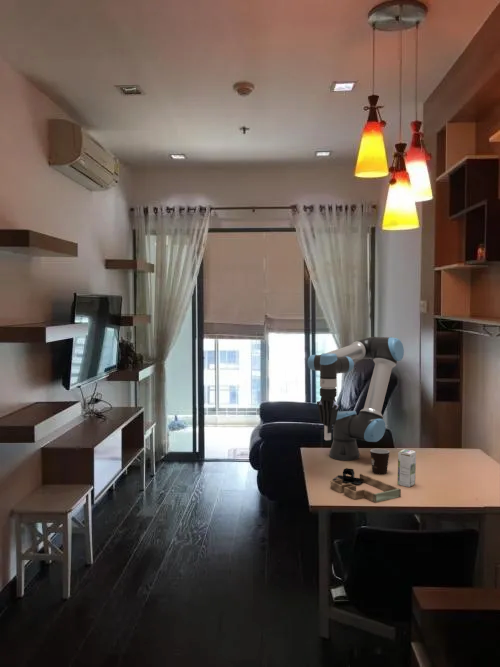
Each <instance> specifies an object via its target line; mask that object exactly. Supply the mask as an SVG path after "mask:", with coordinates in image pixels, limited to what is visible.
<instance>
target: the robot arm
mask: <svg viewBox="0 0 500 667" xmlns="http://www.w3.org/2000/svg"><path fill="white" fill-rule="evenodd" d="M404 353H405V348H404V344H403V342H402V340H401V339H399V338H398V337H392V336H391V337H388V336H385V337H384V336H371V337H370V336H369V337H365V338H362V339H359V340H356V341H354V342H353V341H352V343H351V344H349V345H346V346H344V347H341V348H338V349H335V350H331V351H329V352H324V353H322V354H311V355H309V356H308V358H307V362H306V363H307V367H308V369H309V370H311V371H315V372H319V387H320V389H319V396H320V400H319V401H316V405H317V408H318V415H319V422H320V424H322V425H323V432H324V433H323V434H324V436H323V437H324V438H323V439H324V440H325V441H331V440H332V439H333V440H332V444H331V447H330V450H329V457H330V458H331V459H335V460H339V461H355V460H359V458H360V451H359V446H358V444H357V440H361V441H366V442H369V443H378V442H379V441H380V440H382V439H383V436H384V435H385V432H386V422H385V420H384V416H383V414H382V410H383V405H384V402H385V397H386V394H387V392H388V391H387V390H388V385H389V382H390V379H391V378H390V377H391V374H392V371H393V368H395V367H396V366H397V363H398V362H400V361H402V360H403V358H404V355H405V354H404ZM362 359H363V360H364V359H368V360H369V359H371V360H372V361H373V363H374V366H373V367H374V368H373V371H372V375H371V379H370V383H369V387H368V391H367V396H366V399H365V402H364V406H363V408H362V409H361V410H360V411H359V413H358V414H357V411H356V410H343V411H339V409H340V404H338V403H337V401H336V397H337V392H338V391H337V387H338V382H337V381H338V378H337V374H347V373H350V372H352V371H353V369H354V367H355V363H354V360H362Z"/></svg>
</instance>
